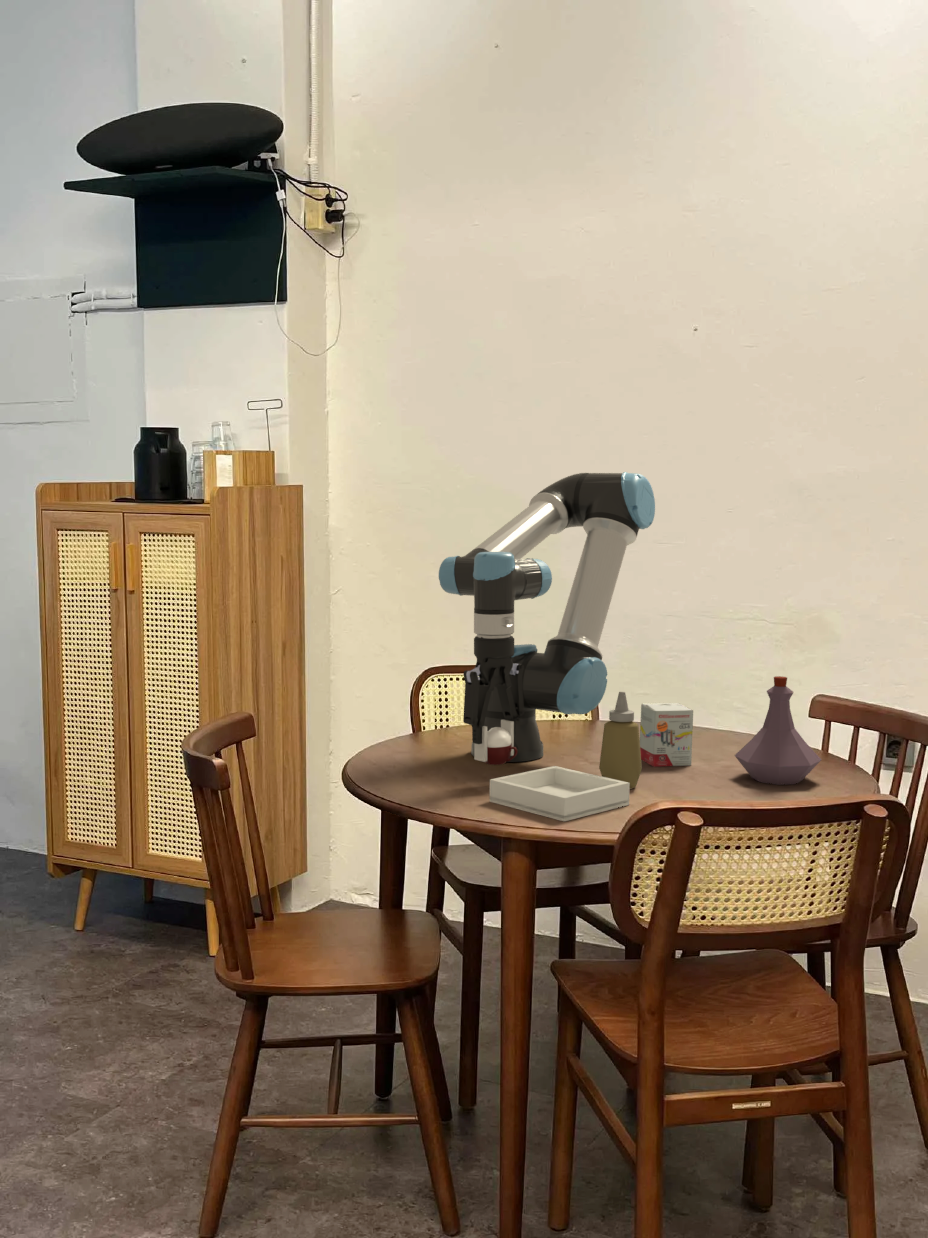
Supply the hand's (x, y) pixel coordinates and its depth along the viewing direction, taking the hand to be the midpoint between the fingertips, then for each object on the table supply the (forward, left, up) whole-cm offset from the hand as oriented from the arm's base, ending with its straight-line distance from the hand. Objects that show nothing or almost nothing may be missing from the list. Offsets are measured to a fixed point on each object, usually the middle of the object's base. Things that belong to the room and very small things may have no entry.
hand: (494, 757), depth 234 cm
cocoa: (0, 0, -1) cm, 1 cm away
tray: (+1, +17, -5) cm, 18 cm away
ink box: (-41, +8, -6) cm, 43 cm away
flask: (-45, +32, -6) cm, 56 cm away
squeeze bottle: (-17, +16, -6) cm, 24 cm away
